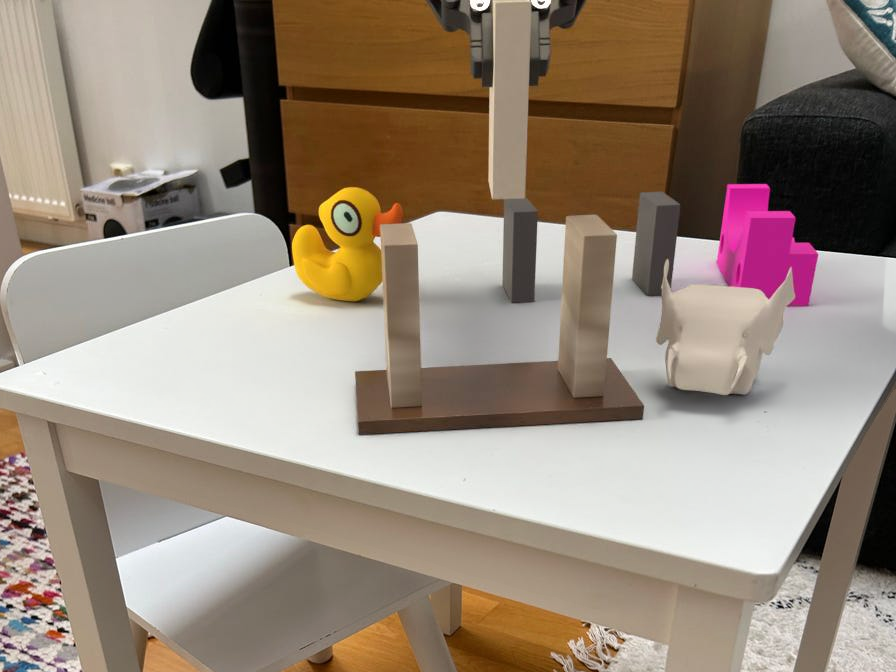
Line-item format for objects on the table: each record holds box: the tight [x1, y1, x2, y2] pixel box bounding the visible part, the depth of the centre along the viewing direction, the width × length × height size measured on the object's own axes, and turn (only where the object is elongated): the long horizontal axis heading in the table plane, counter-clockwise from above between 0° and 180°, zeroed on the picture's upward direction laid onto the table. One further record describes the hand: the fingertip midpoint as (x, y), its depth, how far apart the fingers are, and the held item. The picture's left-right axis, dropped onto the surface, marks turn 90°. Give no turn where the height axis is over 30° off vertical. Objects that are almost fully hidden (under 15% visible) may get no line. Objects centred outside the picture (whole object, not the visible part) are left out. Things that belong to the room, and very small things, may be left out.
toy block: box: [716, 183, 819, 307], centre depth 94 cm, size 15×6×8 cm, turn 173°
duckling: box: [291, 186, 404, 302], centre depth 93 cm, size 11×5×10 cm, turn 67°
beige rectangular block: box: [487, 0, 532, 201], centre depth 65 cm, size 2×6×11 cm, turn 179°
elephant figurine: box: [655, 259, 795, 396], centre depth 71 cm, size 10×12×9 cm
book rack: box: [354, 214, 645, 435], centre depth 70 cm, size 20×10×12 cm, turn 94°
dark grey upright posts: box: [501, 191, 681, 304], centre depth 94 cm, size 15×6×8 cm, turn 94°
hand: (511, 76), depth 62 cm, fingers closed on beige rectangular block, 2 cm apart
